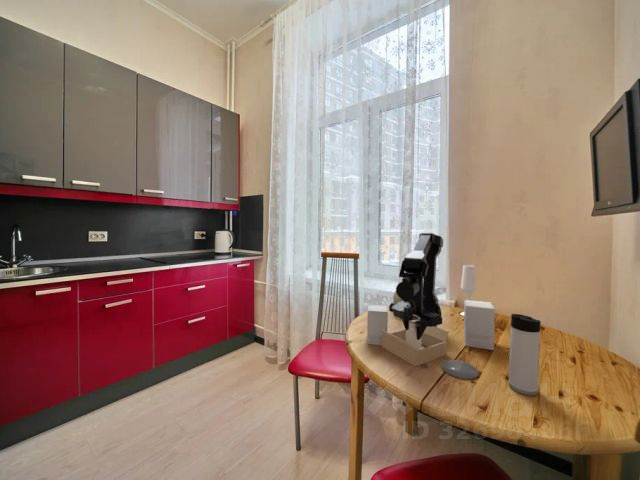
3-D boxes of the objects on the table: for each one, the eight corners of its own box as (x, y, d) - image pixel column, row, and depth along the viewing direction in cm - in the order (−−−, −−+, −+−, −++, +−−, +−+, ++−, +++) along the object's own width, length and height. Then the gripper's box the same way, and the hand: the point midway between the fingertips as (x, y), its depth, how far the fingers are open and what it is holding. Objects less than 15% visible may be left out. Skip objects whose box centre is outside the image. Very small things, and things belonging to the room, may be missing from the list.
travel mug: (501, 382, 75) (504, 312, 73) (523, 381, 75) (526, 311, 74) (520, 397, 68) (523, 320, 67) (544, 395, 69) (547, 319, 68)
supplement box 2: (490, 340, 101) (491, 301, 100) (494, 351, 93) (495, 308, 92) (463, 336, 105) (464, 299, 104) (464, 346, 97) (465, 305, 96)
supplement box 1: (387, 346, 97) (387, 311, 97) (367, 344, 99) (367, 310, 98) (386, 337, 105) (387, 305, 104) (367, 336, 106) (367, 304, 105)
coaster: (454, 358, 88) (454, 356, 88) (485, 373, 79) (485, 371, 79) (434, 366, 83) (434, 364, 83) (464, 383, 74) (464, 381, 74)
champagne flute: (462, 311, 135) (464, 264, 134) (477, 314, 130) (479, 265, 129) (457, 314, 131) (458, 265, 129) (472, 318, 126) (474, 267, 124)
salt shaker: (413, 352, 91) (413, 324, 90) (404, 347, 94) (405, 321, 94) (421, 349, 93) (422, 322, 92) (413, 344, 96) (413, 319, 96)
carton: (415, 337, 104) (415, 318, 104) (449, 353, 91) (450, 332, 91) (378, 348, 96) (378, 328, 95) (410, 367, 82) (411, 344, 82)
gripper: (377, 290, 97) (377, 332, 97) (419, 303, 80) (418, 354, 81) (400, 286, 102) (400, 326, 103) (443, 298, 86) (442, 345, 86)
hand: (413, 337), depth 93 cm, fingers closed on salt shaker, 4 cm apart
